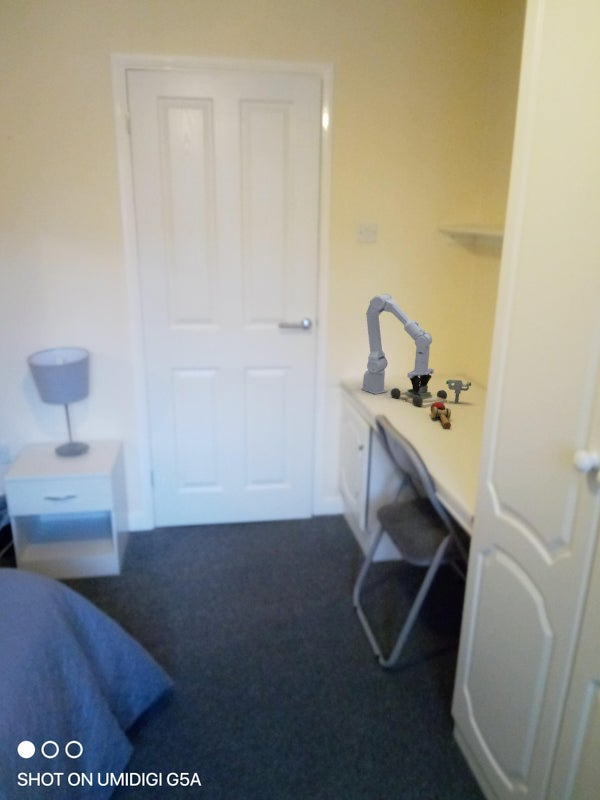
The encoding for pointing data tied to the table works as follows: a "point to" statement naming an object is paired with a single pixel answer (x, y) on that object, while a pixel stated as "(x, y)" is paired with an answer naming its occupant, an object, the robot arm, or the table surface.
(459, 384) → the mechanical component
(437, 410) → the kendama
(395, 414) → the table surface
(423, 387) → the block
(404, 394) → the chassis
